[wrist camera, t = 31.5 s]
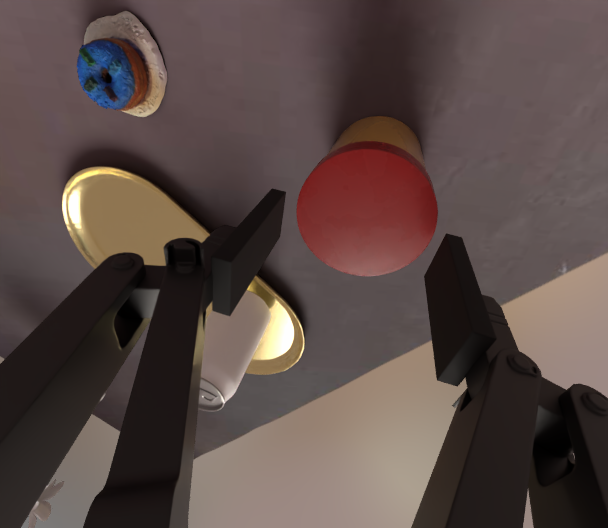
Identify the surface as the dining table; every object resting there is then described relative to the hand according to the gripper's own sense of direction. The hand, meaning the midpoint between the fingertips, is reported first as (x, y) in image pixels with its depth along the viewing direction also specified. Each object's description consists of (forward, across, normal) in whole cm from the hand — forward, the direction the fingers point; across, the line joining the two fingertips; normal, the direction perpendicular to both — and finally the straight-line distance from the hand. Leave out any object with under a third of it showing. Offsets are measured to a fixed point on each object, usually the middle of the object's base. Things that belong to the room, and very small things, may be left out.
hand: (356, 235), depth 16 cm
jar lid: (+2, 0, 0) cm, 2 cm away
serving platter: (+13, -18, -20) cm, 30 cm away
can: (+12, -10, -20) cm, 25 cm away
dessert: (+13, -23, +3) cm, 27 cm away
